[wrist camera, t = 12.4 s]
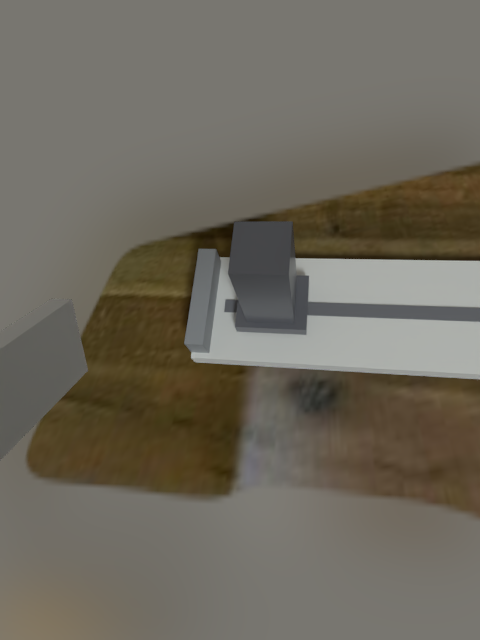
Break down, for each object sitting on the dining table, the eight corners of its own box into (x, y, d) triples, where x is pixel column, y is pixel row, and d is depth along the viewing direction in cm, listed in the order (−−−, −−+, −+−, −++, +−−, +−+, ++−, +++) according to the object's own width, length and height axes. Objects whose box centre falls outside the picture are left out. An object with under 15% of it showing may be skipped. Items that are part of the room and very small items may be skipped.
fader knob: (309, 281, 39) (307, 215, 29) (306, 334, 37) (304, 282, 28) (242, 280, 40) (221, 215, 30) (237, 331, 38) (212, 280, 29)
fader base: (545, 270, 38) (570, 247, 34) (563, 384, 34) (593, 372, 31) (209, 264, 43) (199, 243, 40) (195, 362, 40) (183, 349, 36)
